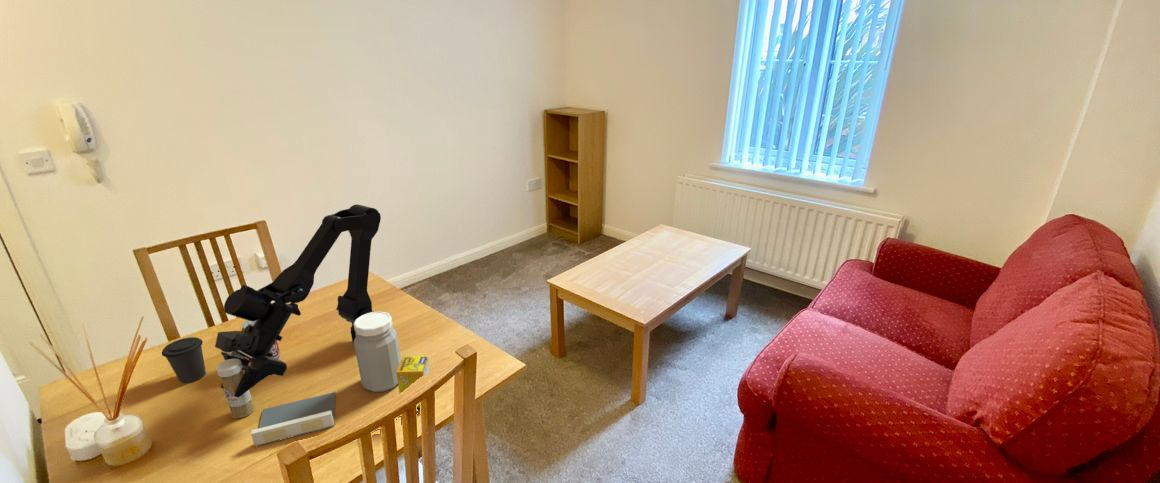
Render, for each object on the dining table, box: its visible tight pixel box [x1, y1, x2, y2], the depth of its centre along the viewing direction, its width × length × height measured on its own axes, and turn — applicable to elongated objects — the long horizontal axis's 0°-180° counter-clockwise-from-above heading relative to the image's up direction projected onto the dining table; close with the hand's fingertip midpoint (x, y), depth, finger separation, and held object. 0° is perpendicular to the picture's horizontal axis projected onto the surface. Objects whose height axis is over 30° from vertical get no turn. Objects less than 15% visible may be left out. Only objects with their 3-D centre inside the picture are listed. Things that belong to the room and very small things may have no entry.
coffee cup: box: [161, 336, 207, 384], centre depth 121 cm, size 8×8×10 cm
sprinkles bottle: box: [215, 359, 255, 419], centre depth 109 cm, size 5×5×14 cm
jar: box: [353, 311, 402, 393], centre depth 118 cm, size 10×10×18 cm
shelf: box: [250, 391, 336, 448], centre depth 109 cm, size 15×12×4 cm
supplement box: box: [396, 355, 431, 411], centre depth 113 cm, size 6×6×11 cm
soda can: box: [241, 320, 281, 365], centre depth 127 cm, size 7×7×12 cm
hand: (229, 392), depth 108 cm, fingers open, 5 cm apart
